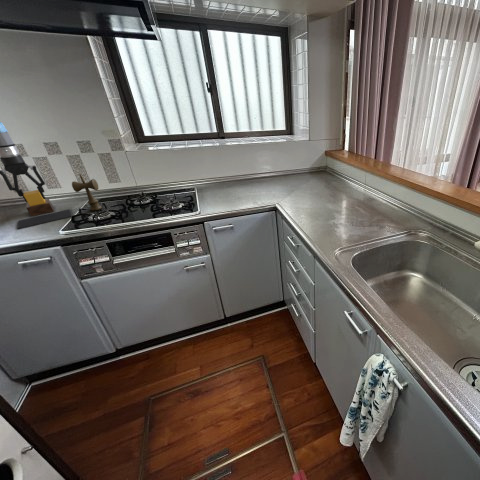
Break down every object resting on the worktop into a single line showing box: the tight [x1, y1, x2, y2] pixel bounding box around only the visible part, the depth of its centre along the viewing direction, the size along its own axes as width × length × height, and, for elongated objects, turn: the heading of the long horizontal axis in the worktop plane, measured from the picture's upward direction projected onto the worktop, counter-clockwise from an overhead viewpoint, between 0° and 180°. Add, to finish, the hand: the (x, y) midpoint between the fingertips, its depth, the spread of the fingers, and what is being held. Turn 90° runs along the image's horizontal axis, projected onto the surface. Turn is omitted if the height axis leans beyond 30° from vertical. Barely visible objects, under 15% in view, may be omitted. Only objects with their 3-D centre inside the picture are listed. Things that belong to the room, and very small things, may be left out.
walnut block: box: [25, 198, 55, 218], centre depth 144 cm, size 9×9×5 cm
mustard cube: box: [23, 189, 46, 206], centre depth 141 cm, size 6×6×6 cm
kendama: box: [71, 173, 103, 212], centre depth 141 cm, size 6×10×20 cm, turn 113°
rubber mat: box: [17, 209, 72, 230], centre depth 136 cm, size 20×12×1 cm, turn 133°
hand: (36, 200), depth 141 cm, fingers closed on mustard cube, 6 cm apart
